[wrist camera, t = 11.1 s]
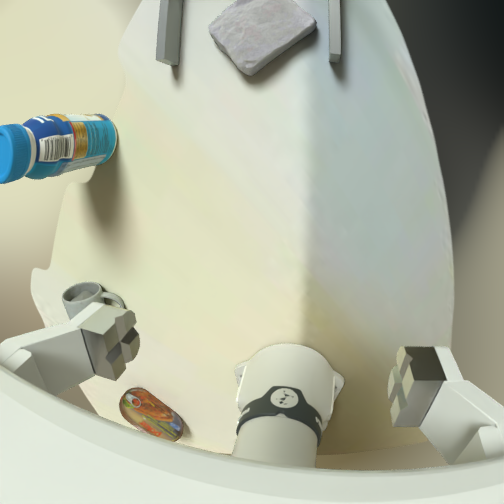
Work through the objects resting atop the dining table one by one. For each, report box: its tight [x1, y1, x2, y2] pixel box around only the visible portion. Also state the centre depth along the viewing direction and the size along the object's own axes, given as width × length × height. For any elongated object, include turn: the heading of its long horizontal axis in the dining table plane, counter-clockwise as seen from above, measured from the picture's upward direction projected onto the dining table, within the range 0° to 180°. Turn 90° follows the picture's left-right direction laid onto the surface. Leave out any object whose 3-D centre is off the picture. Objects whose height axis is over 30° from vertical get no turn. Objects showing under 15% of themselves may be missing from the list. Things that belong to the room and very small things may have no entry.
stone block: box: [209, 0, 317, 75], centre depth 33 cm, size 12×5×10 cm
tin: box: [119, 388, 183, 442], centre depth 58 cm, size 15×3×8 cm, turn 49°
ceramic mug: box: [62, 282, 124, 320], centre depth 51 cm, size 11×8×8 cm
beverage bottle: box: [0, 114, 117, 184], centre depth 34 cm, size 8×8×20 cm
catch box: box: [156, 0, 341, 66], centre depth 31 cm, size 15×22×4 cm
